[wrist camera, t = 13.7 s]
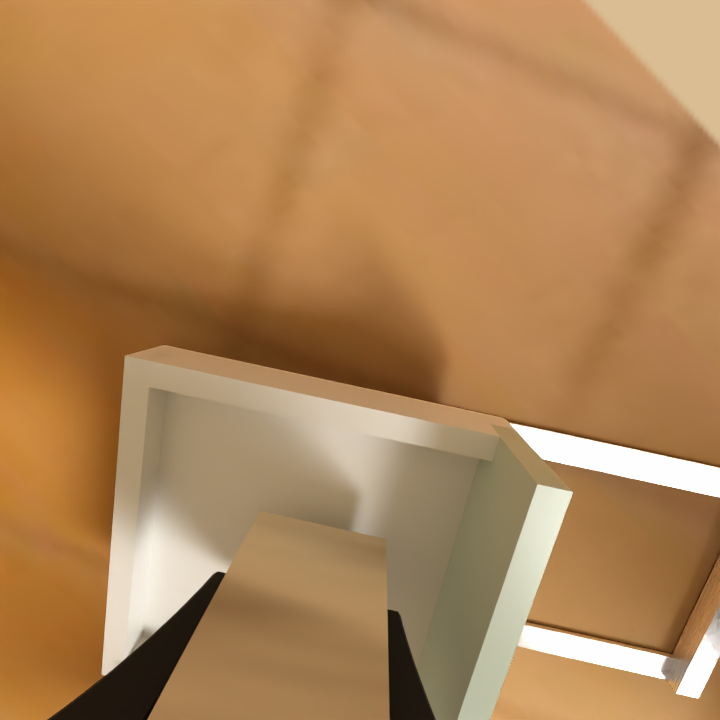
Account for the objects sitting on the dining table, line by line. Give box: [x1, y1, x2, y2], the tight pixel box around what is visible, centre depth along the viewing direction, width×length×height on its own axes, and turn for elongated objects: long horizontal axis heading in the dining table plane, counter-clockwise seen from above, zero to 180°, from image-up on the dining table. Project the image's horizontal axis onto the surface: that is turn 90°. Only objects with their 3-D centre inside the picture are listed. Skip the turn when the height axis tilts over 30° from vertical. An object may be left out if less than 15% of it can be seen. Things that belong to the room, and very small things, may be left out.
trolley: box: [102, 345, 573, 720], centre depth 13 cm, size 12×12×7 cm
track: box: [508, 421, 720, 698], centre depth 16 cm, size 10×26×1 cm, turn 78°
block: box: [147, 511, 390, 720], centre depth 9 cm, size 4×4×6 cm
